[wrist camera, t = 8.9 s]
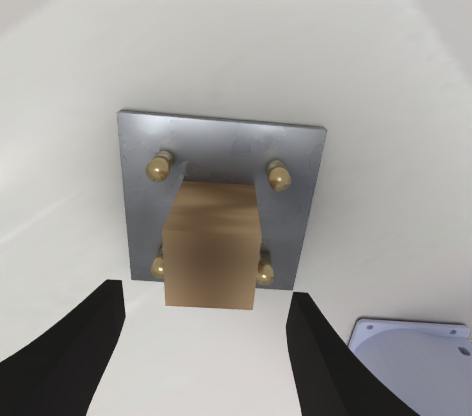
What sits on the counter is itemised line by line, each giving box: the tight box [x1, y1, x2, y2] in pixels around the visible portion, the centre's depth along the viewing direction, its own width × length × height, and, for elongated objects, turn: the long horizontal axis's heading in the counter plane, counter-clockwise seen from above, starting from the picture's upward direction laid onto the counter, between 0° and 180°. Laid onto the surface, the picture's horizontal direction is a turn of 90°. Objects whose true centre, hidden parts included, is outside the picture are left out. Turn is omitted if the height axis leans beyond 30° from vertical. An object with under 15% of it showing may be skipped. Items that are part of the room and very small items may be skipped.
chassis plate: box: [117, 110, 327, 290], centre depth 20 cm, size 12×12×3 cm
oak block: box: [162, 181, 262, 310], centre depth 18 cm, size 4×4×6 cm
